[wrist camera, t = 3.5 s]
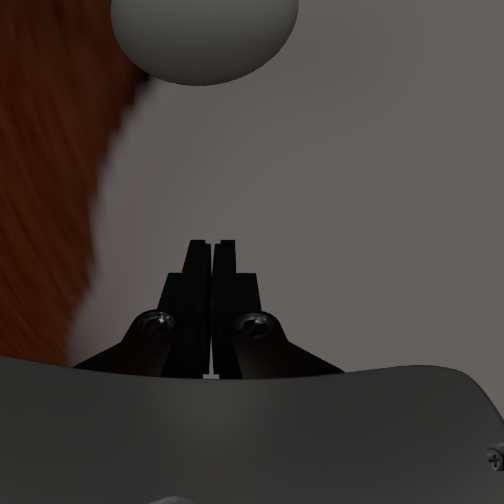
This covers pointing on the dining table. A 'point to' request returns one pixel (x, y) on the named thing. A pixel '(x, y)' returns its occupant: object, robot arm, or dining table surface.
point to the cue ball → (202, 36)
